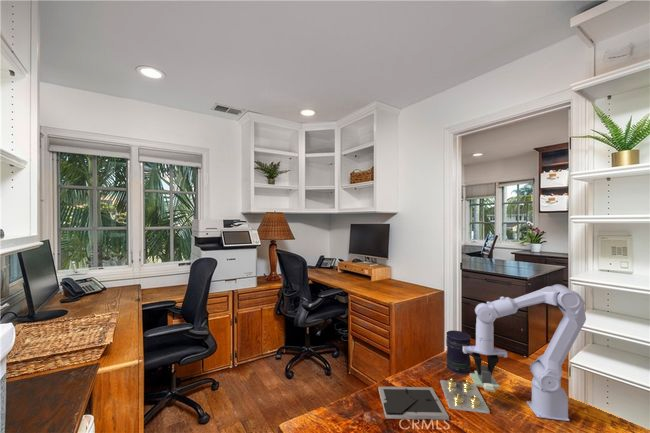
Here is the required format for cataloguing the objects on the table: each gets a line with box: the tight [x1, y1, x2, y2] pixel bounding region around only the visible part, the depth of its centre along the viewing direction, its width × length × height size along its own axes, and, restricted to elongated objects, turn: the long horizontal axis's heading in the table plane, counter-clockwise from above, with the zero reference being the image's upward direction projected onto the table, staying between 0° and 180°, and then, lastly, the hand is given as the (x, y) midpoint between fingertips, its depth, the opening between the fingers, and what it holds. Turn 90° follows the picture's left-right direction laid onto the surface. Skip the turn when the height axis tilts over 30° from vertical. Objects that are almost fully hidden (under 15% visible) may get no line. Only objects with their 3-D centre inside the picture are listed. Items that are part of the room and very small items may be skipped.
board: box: [469, 364, 501, 393], centre depth 105 cm, size 8×12×5 cm, turn 168°
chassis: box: [439, 377, 491, 414], centre depth 106 cm, size 13×16×4 cm
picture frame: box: [378, 386, 450, 421], centre depth 102 cm, size 16×3×21 cm
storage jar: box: [445, 330, 472, 375], centre depth 126 cm, size 10×10×15 cm
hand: (484, 373), depth 105 cm, fingers closed on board, 3 cm apart
